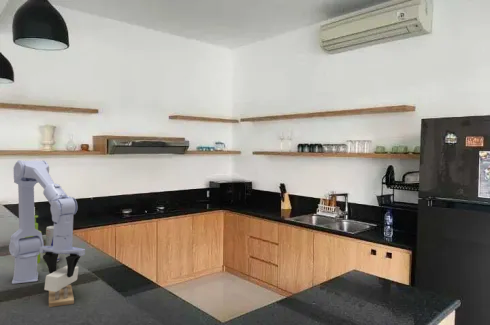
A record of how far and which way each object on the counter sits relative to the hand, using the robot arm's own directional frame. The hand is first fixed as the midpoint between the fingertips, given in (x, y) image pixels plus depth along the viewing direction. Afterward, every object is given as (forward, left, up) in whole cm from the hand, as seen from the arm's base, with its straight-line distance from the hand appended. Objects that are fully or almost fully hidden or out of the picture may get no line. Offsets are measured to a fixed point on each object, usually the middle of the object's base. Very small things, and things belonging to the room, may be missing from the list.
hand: (61, 275), depth 120 cm
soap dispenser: (-43, -10, -7) cm, 45 cm away
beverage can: (-42, -2, -7) cm, 43 cm away
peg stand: (0, 0, -7) cm, 7 cm away
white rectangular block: (0, 0, -3) cm, 3 cm away
